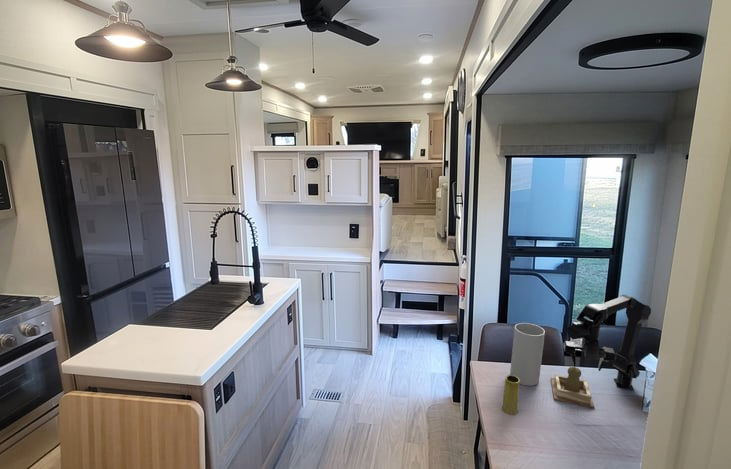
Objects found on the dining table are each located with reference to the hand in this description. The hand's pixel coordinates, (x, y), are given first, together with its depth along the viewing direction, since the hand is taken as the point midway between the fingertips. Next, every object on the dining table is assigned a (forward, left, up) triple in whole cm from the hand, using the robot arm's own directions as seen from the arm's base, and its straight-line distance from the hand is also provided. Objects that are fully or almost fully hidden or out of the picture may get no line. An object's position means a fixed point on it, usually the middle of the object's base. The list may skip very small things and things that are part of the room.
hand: (586, 368), depth 161 cm
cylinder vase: (-3, -24, -13) cm, 27 cm away
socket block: (+1, -5, -13) cm, 13 cm away
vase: (+23, -30, -13) cm, 40 cm away
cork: (+1, -5, -12) cm, 13 cm away
